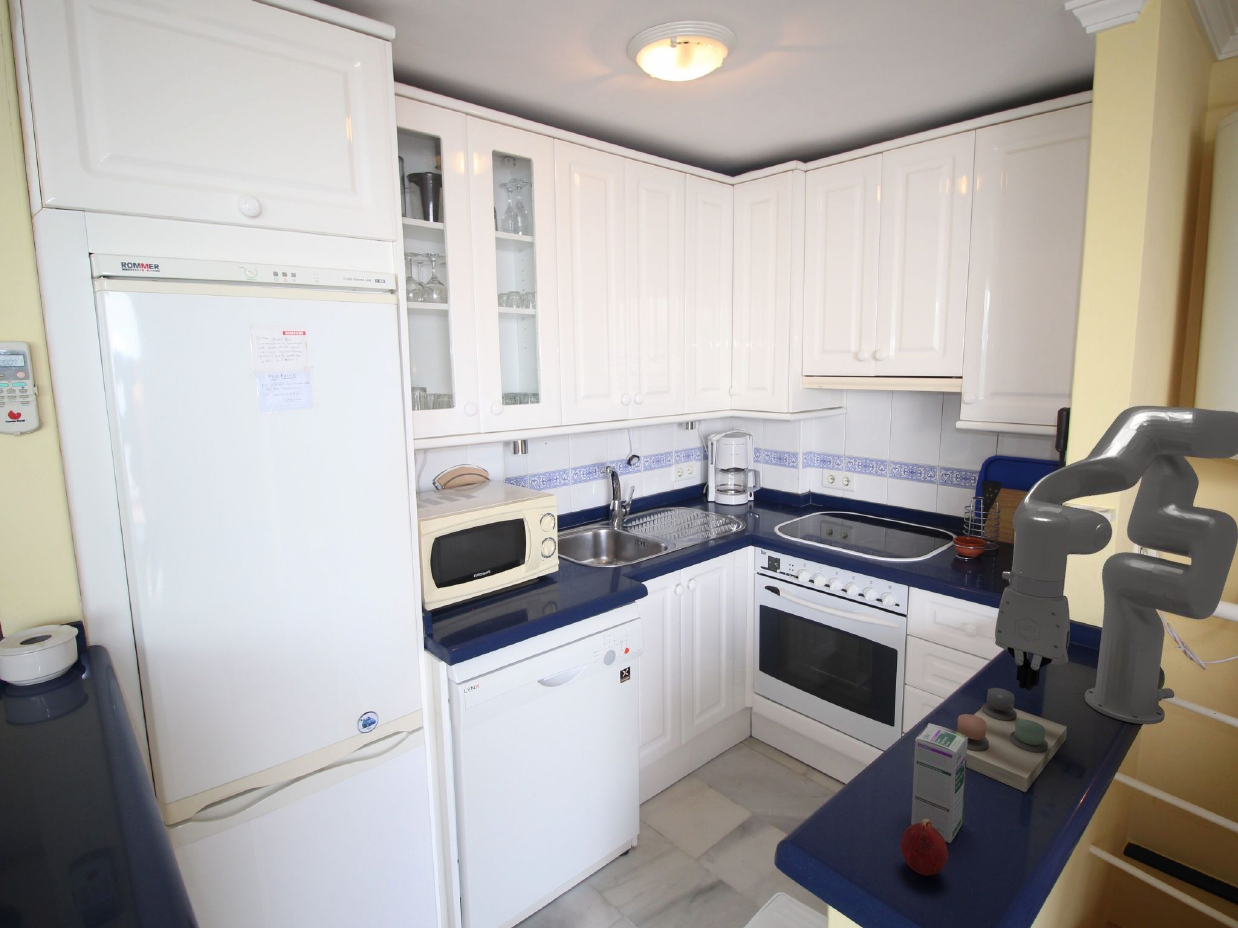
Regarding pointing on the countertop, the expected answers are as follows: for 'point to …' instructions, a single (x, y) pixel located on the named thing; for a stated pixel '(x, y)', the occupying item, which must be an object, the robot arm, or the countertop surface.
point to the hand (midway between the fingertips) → (1027, 686)
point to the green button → (1029, 732)
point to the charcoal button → (1000, 699)
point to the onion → (924, 848)
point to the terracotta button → (971, 726)
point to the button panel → (1012, 748)
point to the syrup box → (939, 779)
